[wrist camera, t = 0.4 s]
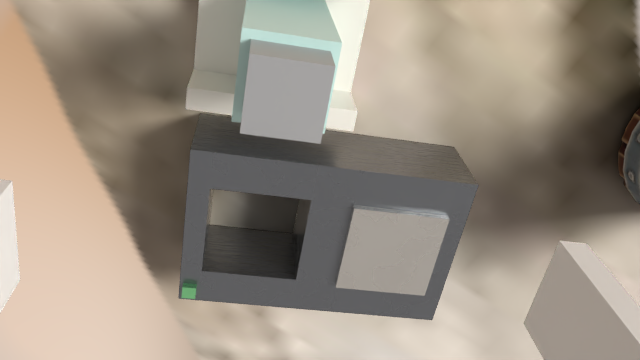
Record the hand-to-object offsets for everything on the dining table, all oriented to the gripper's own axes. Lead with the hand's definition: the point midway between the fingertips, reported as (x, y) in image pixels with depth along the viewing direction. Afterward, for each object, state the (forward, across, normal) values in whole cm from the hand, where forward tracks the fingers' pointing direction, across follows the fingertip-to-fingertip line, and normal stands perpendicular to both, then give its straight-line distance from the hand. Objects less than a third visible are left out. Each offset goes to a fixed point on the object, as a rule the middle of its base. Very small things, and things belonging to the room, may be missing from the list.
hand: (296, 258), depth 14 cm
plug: (+20, 0, +1) cm, 20 cm away
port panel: (+21, +4, -10) cm, 24 cm away
